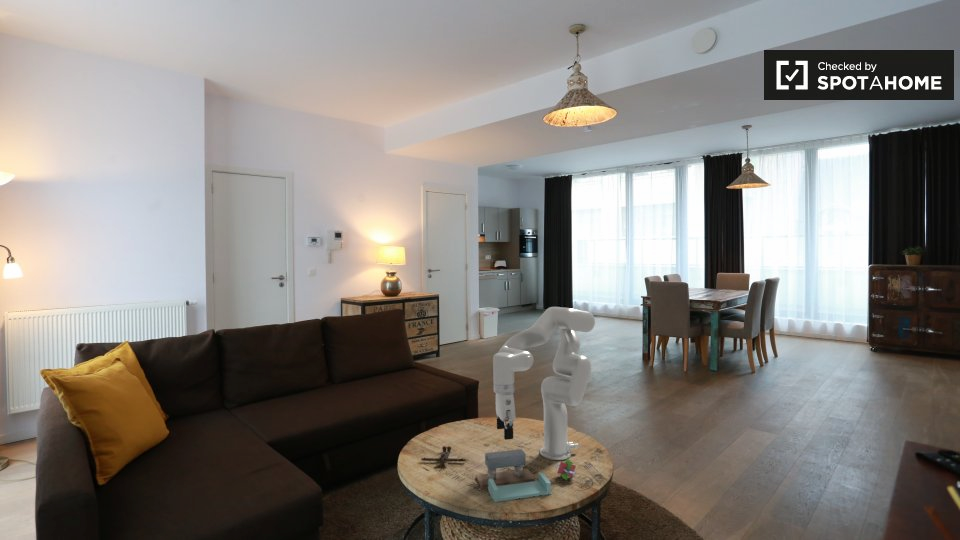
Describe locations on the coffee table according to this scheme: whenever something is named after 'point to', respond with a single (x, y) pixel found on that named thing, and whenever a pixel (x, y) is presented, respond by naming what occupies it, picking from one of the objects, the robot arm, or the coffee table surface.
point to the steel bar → (505, 459)
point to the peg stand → (506, 477)
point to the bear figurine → (443, 457)
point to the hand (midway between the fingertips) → (504, 433)
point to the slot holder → (520, 489)
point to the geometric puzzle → (566, 469)
